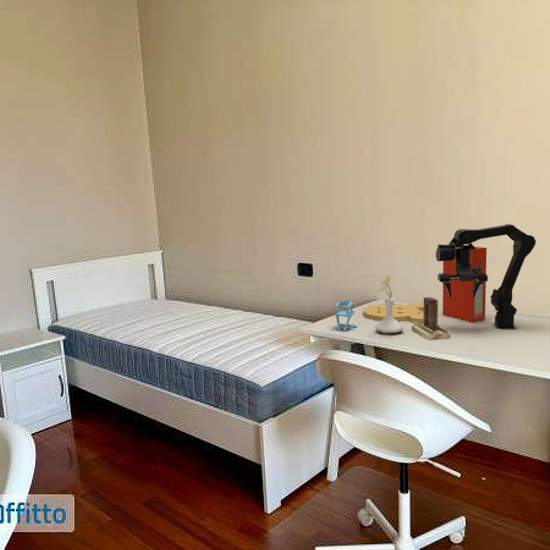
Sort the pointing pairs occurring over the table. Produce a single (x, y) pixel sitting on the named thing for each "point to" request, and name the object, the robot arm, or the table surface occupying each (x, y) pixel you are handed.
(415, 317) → the decorative plaque
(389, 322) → the flower in vase
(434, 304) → the walnut photo frame
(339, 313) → the chair
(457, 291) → the file binder
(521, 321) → the table surface
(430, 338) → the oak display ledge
